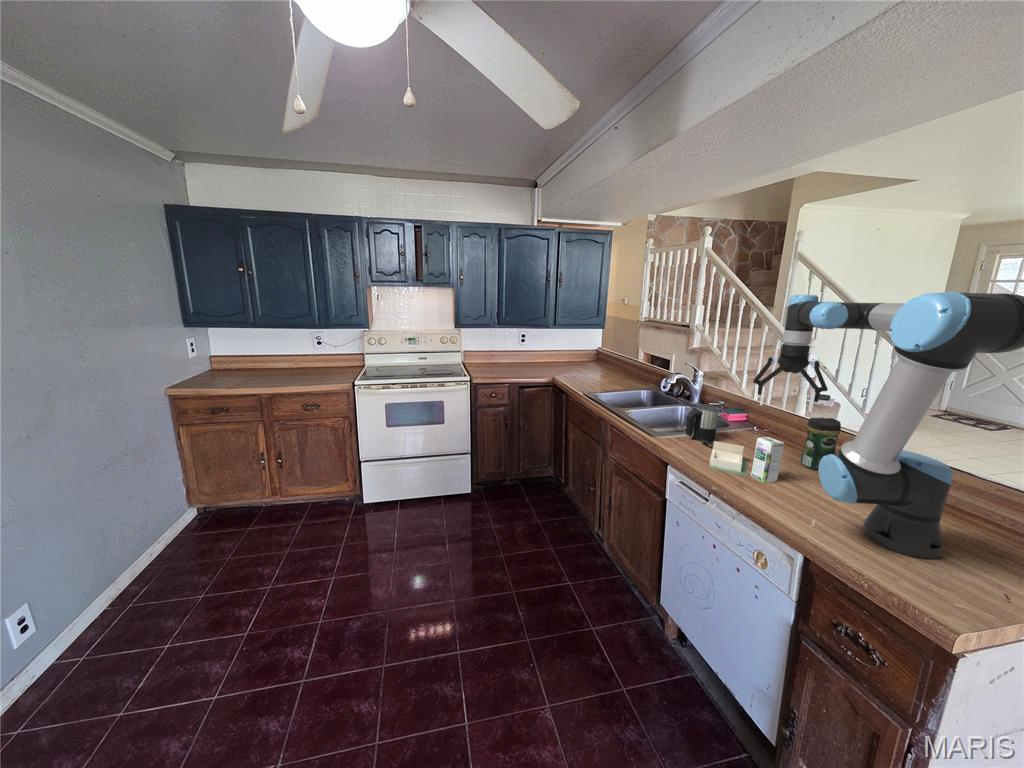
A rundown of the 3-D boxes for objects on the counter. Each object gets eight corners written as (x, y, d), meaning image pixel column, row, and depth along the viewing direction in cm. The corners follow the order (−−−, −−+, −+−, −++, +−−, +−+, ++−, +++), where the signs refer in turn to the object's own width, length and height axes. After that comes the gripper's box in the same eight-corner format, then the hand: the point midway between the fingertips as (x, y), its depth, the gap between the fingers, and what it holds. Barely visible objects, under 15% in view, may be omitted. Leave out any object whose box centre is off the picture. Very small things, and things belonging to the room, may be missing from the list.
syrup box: (749, 477, 141) (756, 437, 138) (763, 475, 143) (769, 436, 139) (764, 484, 136) (771, 443, 132) (777, 482, 137) (785, 442, 134)
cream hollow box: (740, 472, 143) (743, 456, 142) (709, 466, 148) (711, 450, 147) (741, 461, 153) (743, 446, 152) (711, 455, 158) (713, 440, 156)
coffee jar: (821, 462, 155) (831, 415, 151) (837, 471, 147) (847, 422, 143) (795, 461, 155) (804, 414, 151) (809, 470, 148) (819, 421, 143)
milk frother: (700, 434, 183) (704, 402, 179) (735, 446, 170) (740, 411, 166) (680, 440, 175) (684, 407, 172) (715, 452, 162) (720, 417, 159)
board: (746, 477, 141) (747, 476, 141) (708, 469, 147) (708, 468, 146) (747, 461, 154) (747, 460, 154) (712, 454, 160) (712, 453, 160)
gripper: (843, 346, 128) (830, 411, 133) (751, 339, 141) (742, 399, 145) (846, 348, 122) (833, 417, 126) (750, 341, 135) (741, 404, 139)
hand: (784, 407), depth 136 cm, fingers open, 13 cm apart
